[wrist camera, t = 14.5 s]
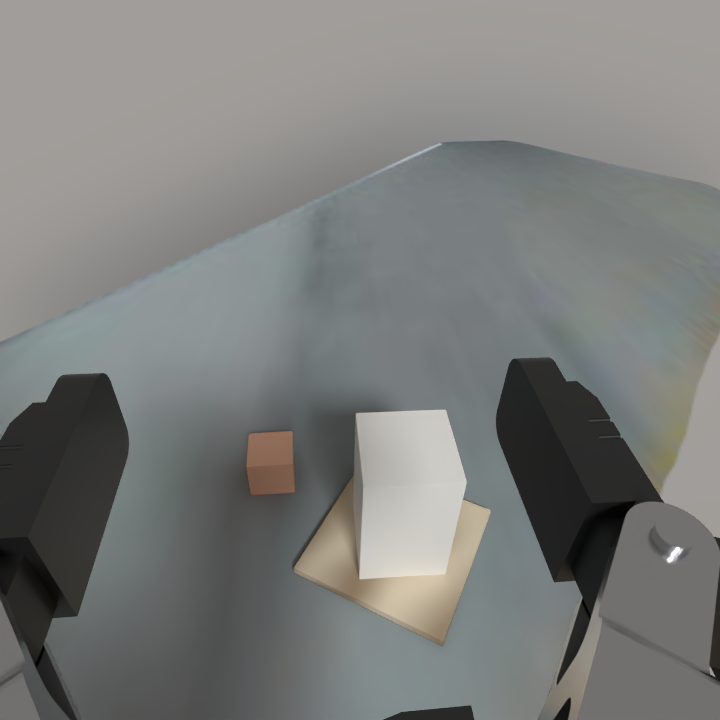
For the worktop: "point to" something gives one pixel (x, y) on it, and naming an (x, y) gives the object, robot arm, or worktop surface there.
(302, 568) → the cork mat
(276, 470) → the block
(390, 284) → the worktop surface
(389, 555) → the white rectangular block
